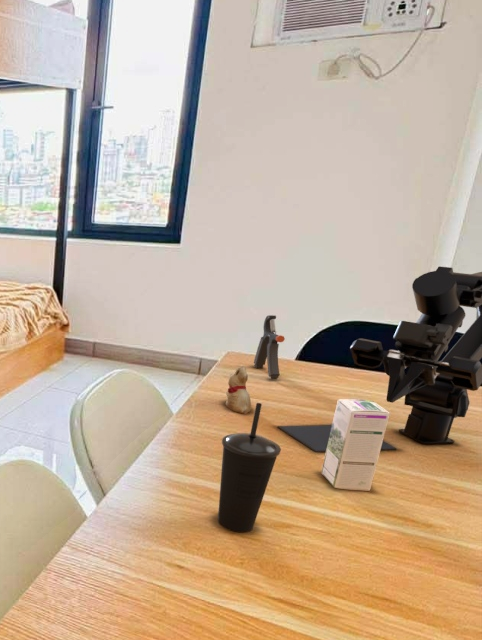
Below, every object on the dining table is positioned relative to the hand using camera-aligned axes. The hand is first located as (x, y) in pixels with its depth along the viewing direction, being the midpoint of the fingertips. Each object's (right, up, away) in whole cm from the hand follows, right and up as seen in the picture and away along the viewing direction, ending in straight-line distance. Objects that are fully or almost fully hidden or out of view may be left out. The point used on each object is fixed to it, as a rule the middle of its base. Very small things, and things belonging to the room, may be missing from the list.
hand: (389, 400), depth 111 cm
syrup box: (-9, -14, -2) cm, 17 cm away
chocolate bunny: (-10, -2, +32) cm, 33 cm away
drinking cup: (-35, -19, -14) cm, 42 cm away
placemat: (+1, -8, +15) cm, 17 cm away
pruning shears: (+10, +6, +54) cm, 55 cm away
